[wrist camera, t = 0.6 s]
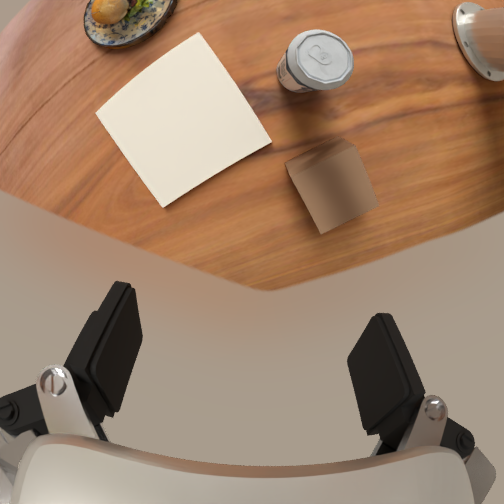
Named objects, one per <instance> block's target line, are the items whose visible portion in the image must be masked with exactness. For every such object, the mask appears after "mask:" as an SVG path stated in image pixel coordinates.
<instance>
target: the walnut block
mask: <svg viewBox="0 0 504 504" xmlns="http://www.w3.org/2000/svg"><path fill="white" fill-rule="evenodd" d="M285 165H286V167H287V170H288V172H289V175H290V177H291V179H292V181H293V183H294V184H295V186H296V188H297V190H298V192H299V193H300V195H301V197H302V199H303V201H304V203H305V205H306V207H307V208H308V210H309V212H310V214H311V216H312V218H313V220H314V222H315V224H316V226H317V228H318V230H319V232H320V234H323V233H325V232H327V231H329V230H331V229H333V228H335V227H337V226H340V225H342V224H344V223H346V222H348V221H350V220H352V219H354V218H356V217H358V216H360V215H362V214H364V213H366V212H368V211H370V210H372V209H374V208H376V207H378V206H379V204H378V201H377V198H376V195H375V193H374V190H373V187H372V185H371V182H370V179H369V177H368V174H367V172H366V169H365V167H364V164H363V162H362V160H361V157H360V155H359V153H358V150H357V148H356V146H355V145H354V144H352V143H350V142H348V141H346V140H345V139H343V138H341V137H339V136H338V137H335V138H333V139H331V140H329V141H327V142H325V143H323V144H321V145H319V146H317V147H315V148H313V149H311V150H309V151H307V152H305V153H303V154H301V155H299V156H297V157H295V158H293V159H291V160H289V161H287V162H285Z"/></svg>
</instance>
